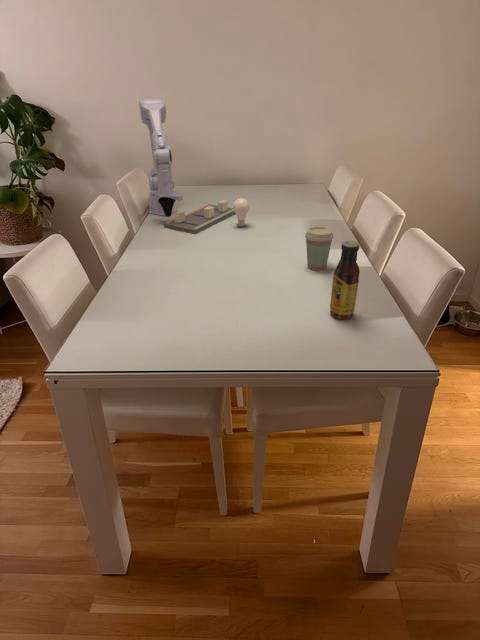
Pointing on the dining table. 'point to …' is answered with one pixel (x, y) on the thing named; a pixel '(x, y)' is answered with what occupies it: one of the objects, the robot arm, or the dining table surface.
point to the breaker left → (223, 206)
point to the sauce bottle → (345, 282)
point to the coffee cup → (318, 247)
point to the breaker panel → (199, 220)
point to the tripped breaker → (179, 216)
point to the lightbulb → (241, 210)
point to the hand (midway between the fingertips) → (168, 216)
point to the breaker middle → (209, 212)
